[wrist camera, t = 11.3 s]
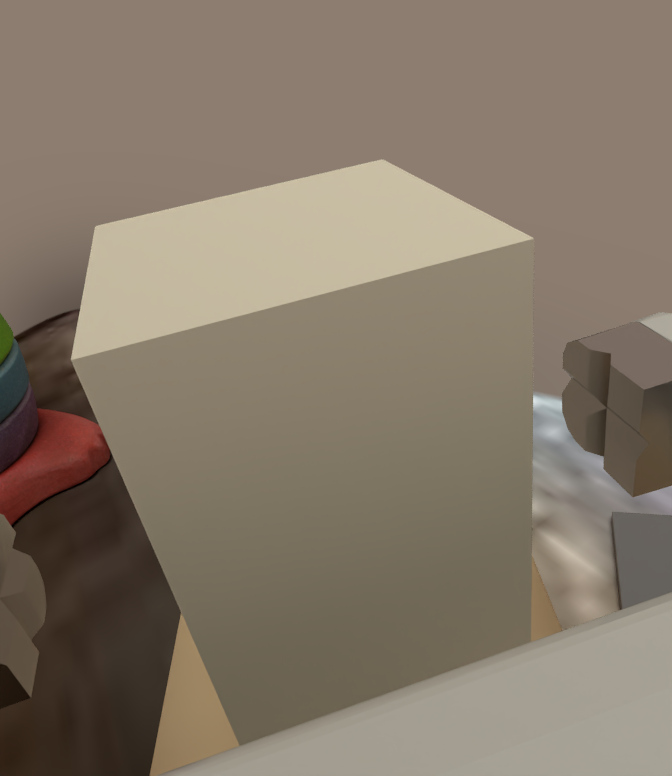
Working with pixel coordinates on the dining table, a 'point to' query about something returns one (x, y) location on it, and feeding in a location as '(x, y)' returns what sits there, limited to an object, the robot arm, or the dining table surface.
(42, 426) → the stacking bear
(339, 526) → the cream block
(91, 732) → the dining table surface
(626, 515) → the card
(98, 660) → the dining table surface
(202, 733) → the oak pedestal
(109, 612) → the dining table surface
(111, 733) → the dining table surface
